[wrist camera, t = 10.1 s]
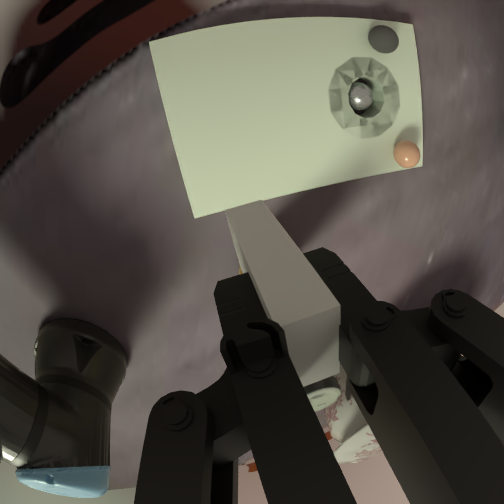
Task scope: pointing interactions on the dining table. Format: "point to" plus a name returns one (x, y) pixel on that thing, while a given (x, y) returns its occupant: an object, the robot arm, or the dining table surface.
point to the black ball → (383, 39)
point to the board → (284, 106)
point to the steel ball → (360, 96)
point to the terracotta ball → (406, 154)
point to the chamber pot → (350, 427)
